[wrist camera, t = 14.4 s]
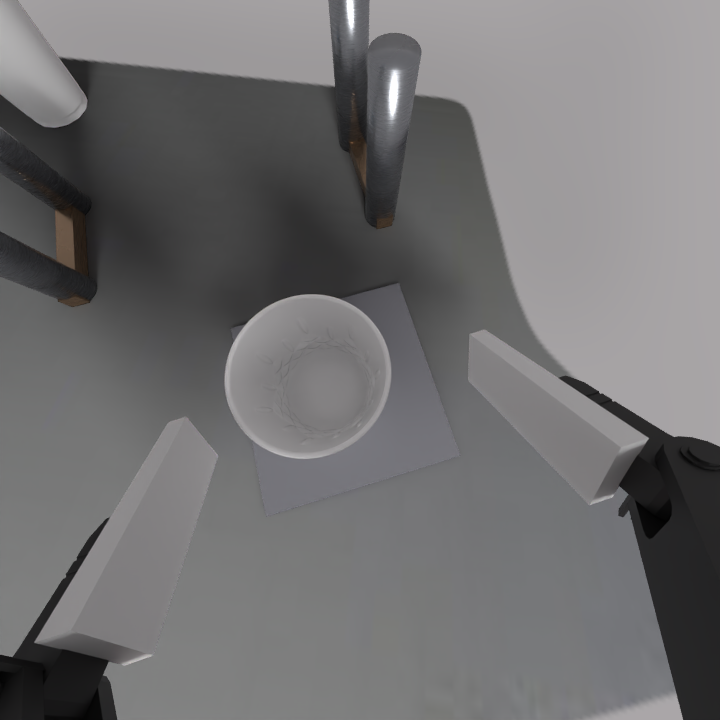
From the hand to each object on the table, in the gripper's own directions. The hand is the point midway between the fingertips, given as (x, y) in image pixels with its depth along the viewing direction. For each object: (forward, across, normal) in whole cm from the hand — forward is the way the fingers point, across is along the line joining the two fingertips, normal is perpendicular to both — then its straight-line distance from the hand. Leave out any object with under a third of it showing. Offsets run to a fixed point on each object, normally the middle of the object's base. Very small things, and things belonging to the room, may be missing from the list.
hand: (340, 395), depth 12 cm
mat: (+8, 0, -6) cm, 10 cm away
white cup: (+8, -1, -6) cm, 10 cm away
